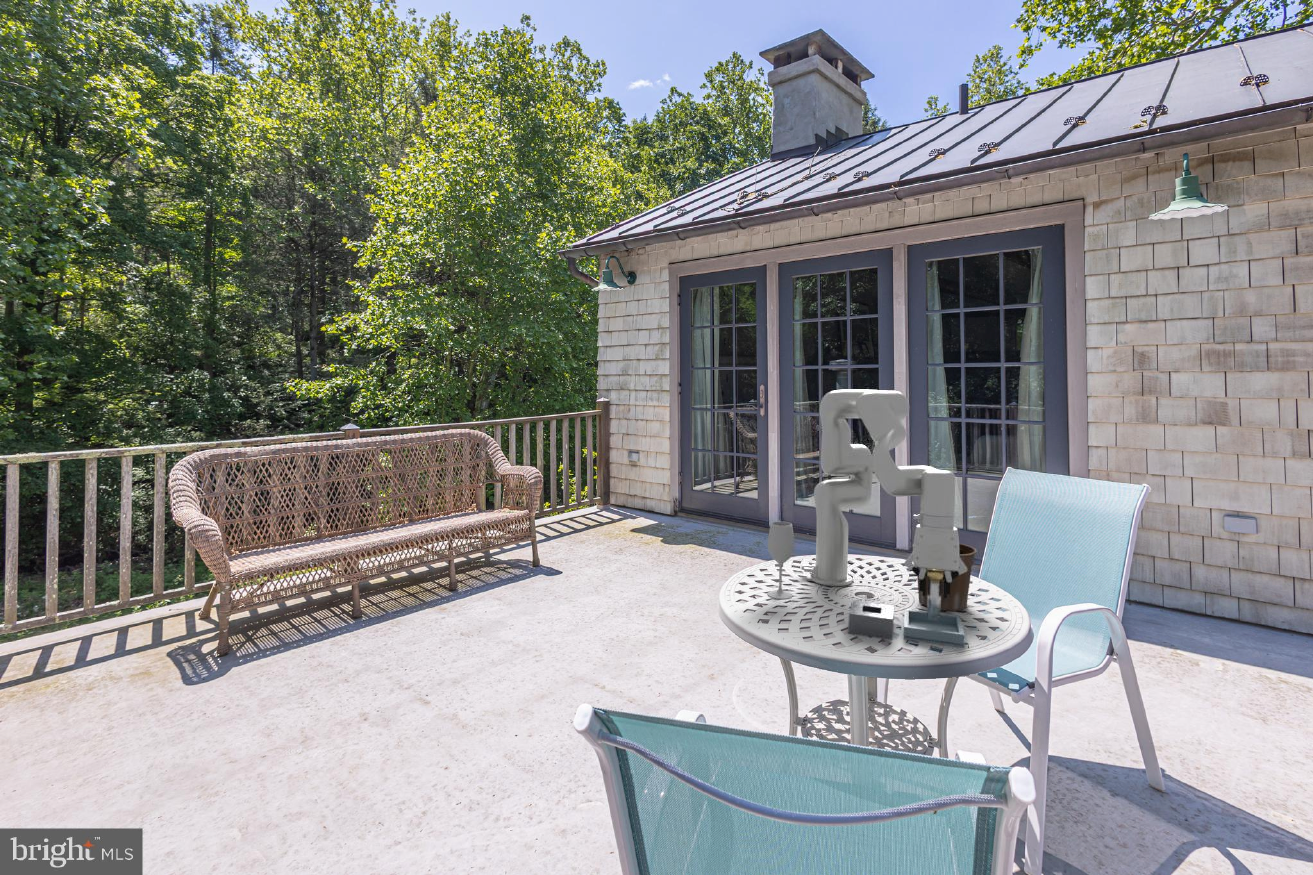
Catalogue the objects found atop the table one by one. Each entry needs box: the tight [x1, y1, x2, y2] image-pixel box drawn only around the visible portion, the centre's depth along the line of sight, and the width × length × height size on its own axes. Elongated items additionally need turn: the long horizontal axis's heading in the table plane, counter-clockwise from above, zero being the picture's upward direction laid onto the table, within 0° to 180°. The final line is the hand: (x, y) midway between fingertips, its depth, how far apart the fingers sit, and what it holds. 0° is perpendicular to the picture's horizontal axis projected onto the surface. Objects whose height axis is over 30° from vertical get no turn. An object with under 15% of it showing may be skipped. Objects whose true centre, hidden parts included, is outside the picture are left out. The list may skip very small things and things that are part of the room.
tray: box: [903, 608, 965, 648], centre depth 153 cm, size 13×13×3 cm
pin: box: [925, 569, 945, 621], centre depth 152 cm, size 4×4×12 cm
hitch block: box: [848, 600, 895, 641], centre depth 155 cm, size 10×10×5 cm
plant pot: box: [911, 542, 978, 612], centre depth 173 cm, size 16×16×16 cm
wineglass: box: [767, 520, 796, 600], centre depth 180 cm, size 8×8×21 cm
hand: (934, 594), depth 152 cm, fingers closed on pin, 4 cm apart
